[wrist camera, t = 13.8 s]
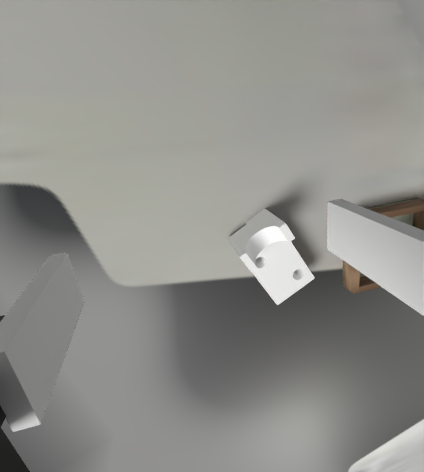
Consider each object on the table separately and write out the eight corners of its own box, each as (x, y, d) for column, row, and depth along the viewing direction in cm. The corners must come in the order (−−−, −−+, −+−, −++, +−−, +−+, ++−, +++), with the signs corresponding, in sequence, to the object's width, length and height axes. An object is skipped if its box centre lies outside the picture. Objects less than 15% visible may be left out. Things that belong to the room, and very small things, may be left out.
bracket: (225, 236, 45) (239, 257, 38) (263, 207, 44) (285, 223, 37) (268, 293, 50) (288, 320, 43) (303, 267, 49) (329, 291, 42)
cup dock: (344, 212, 47) (356, 218, 44) (417, 198, 49) (433, 202, 46) (342, 284, 52) (353, 293, 49) (408, 268, 53) (423, 276, 51)
